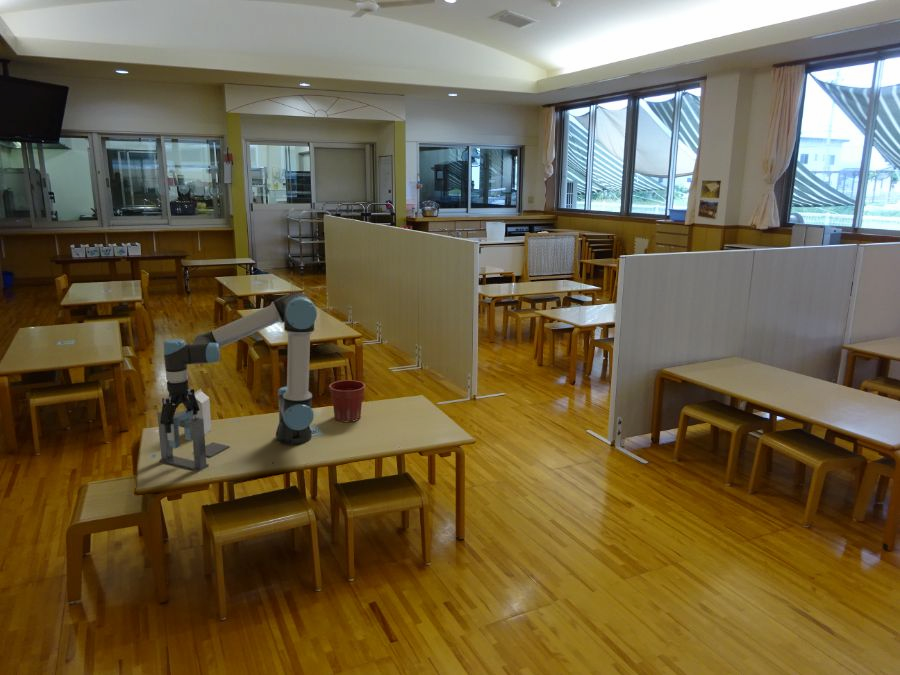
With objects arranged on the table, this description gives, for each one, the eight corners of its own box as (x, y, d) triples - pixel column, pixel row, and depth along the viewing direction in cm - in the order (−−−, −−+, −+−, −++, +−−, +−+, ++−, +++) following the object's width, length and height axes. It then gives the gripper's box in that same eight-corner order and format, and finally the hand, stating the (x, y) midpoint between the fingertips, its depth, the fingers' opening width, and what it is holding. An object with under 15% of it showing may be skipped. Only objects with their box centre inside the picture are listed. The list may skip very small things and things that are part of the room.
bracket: (189, 437, 254) (187, 408, 251) (195, 438, 253) (192, 410, 250) (169, 446, 245) (167, 417, 242) (175, 448, 244) (173, 418, 241)
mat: (229, 447, 267) (229, 446, 267) (210, 457, 257) (210, 456, 257) (212, 443, 270) (212, 442, 270) (193, 453, 261) (193, 452, 260)
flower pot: (339, 409, 313) (338, 378, 309) (370, 413, 309) (370, 382, 305) (324, 421, 298) (323, 388, 294) (356, 426, 294) (356, 392, 290)
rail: (208, 466, 250) (205, 417, 245) (199, 471, 245) (195, 422, 240) (169, 456, 257) (165, 409, 252) (159, 461, 253) (155, 413, 248)
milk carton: (211, 429, 285) (208, 389, 280) (204, 436, 278) (201, 394, 273) (196, 428, 286) (193, 388, 281) (188, 435, 279) (185, 393, 274)
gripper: (192, 370, 254) (196, 423, 260) (145, 387, 234) (151, 444, 239) (206, 373, 252) (210, 426, 257) (161, 390, 231) (166, 447, 237)
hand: (182, 435), depth 248 cm, fingers closed on bracket, 10 cm apart
